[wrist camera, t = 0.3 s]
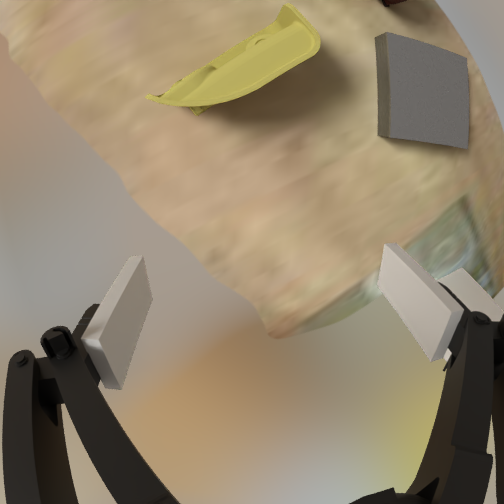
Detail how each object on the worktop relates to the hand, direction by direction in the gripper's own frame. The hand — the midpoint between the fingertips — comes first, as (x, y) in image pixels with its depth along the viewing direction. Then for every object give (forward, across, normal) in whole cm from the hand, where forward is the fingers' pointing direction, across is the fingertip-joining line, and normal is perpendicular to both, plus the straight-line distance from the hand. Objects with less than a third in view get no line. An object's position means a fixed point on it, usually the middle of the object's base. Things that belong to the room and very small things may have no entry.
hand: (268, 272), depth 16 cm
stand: (+28, +28, +14) cm, 42 cm away
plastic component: (+28, -1, +14) cm, 32 cm away
